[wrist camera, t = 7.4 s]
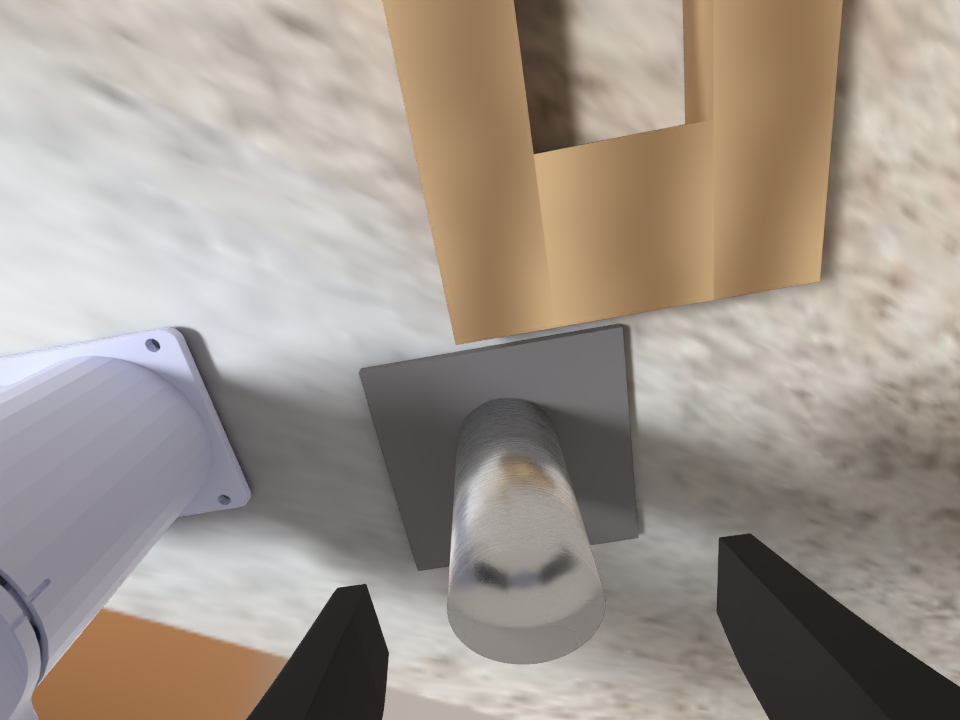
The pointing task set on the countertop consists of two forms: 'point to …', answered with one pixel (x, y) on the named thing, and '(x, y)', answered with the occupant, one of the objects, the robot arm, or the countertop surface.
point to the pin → (518, 541)
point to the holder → (620, 168)
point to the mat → (507, 374)
